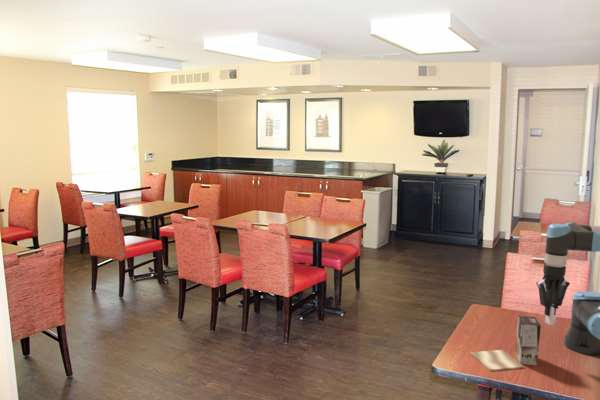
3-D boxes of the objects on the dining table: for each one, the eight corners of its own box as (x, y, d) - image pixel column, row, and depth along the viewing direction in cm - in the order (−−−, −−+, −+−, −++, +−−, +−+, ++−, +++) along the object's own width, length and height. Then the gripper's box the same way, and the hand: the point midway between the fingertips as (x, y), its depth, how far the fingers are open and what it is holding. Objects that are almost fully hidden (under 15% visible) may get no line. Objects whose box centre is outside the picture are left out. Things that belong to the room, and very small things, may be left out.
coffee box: (537, 365, 191) (541, 325, 188) (519, 364, 192) (523, 324, 189) (531, 355, 199) (535, 316, 197) (514, 353, 201) (517, 315, 198)
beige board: (502, 351, 202) (502, 349, 202) (523, 367, 189) (523, 366, 189) (470, 353, 200) (470, 352, 200) (489, 370, 186) (489, 369, 186)
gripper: (563, 261, 196) (557, 318, 200) (533, 262, 194) (527, 320, 198) (577, 266, 189) (570, 326, 193) (546, 267, 186) (540, 328, 190)
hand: (549, 323), depth 195 cm, fingers closed
